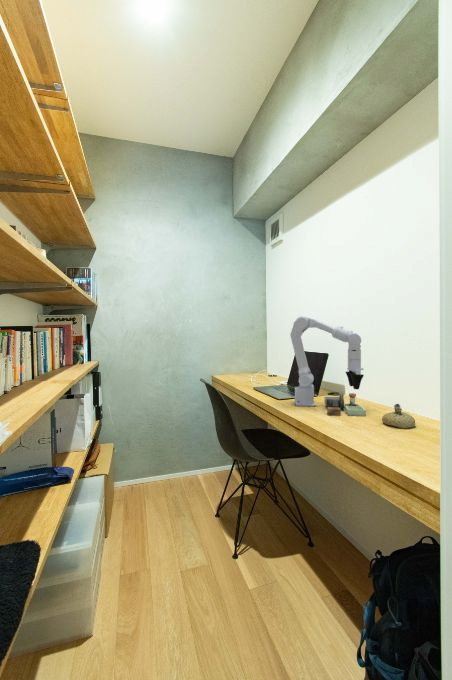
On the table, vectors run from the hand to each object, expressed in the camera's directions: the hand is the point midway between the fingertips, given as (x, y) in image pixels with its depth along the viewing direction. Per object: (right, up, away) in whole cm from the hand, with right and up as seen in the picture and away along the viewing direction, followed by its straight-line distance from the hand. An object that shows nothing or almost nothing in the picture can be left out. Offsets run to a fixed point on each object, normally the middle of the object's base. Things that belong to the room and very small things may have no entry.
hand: (354, 387), depth 146 cm
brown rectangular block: (-13, -11, -10) cm, 20 cm away
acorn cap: (+7, -11, -26) cm, 29 cm away
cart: (-9, -10, +1) cm, 13 cm away
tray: (-3, -10, -9) cm, 14 cm away
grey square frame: (-1, -10, -1) cm, 10 cm away
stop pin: (-1, -10, -1) cm, 10 cm away
